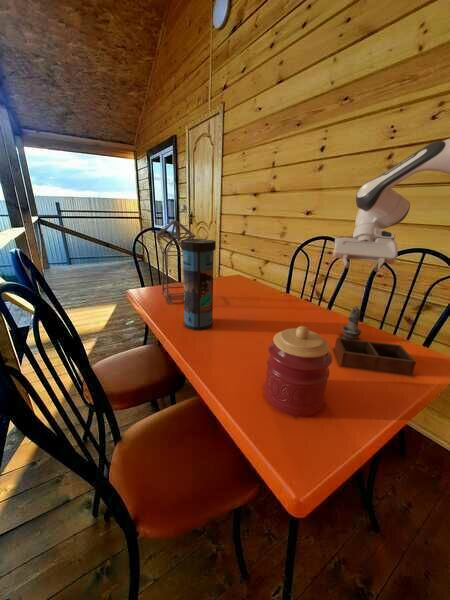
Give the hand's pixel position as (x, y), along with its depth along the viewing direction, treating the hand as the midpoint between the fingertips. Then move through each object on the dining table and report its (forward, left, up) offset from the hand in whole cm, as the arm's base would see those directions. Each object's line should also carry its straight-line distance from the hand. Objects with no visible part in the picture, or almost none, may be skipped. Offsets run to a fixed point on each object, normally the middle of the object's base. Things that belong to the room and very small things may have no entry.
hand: (361, 268), depth 89 cm
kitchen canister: (+23, +46, -22) cm, 56 cm away
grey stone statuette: (+3, +12, -22) cm, 25 cm away
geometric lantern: (+72, -7, -22) cm, 75 cm away
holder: (+1, +26, -22) cm, 34 cm away
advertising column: (+55, +15, -22) cm, 61 cm away
